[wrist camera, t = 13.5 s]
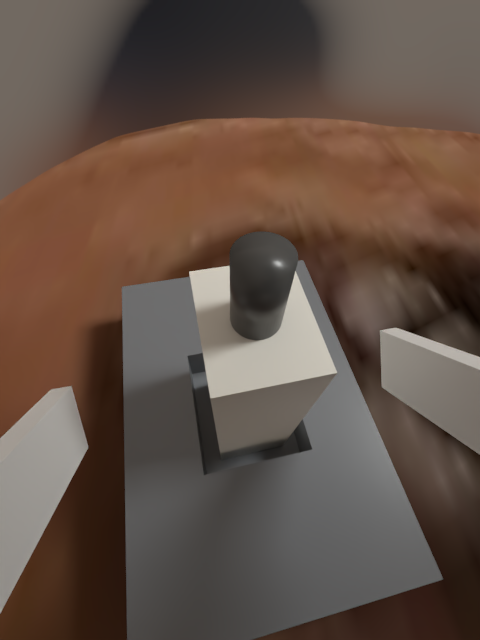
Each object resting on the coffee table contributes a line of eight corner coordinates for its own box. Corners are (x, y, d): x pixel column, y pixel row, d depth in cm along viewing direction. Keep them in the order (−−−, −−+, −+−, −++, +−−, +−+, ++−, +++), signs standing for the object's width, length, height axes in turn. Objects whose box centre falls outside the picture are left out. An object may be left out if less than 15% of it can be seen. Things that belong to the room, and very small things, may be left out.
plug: (263, 374, 22) (305, 189, 10) (282, 445, 20) (375, 321, 7) (208, 384, 22) (177, 203, 9) (221, 459, 19) (202, 353, 6)
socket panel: (294, 291, 28) (303, 260, 24) (401, 566, 17) (443, 579, 14) (136, 316, 26) (121, 286, 22) (150, 642, 15) (127, 678, 12)
